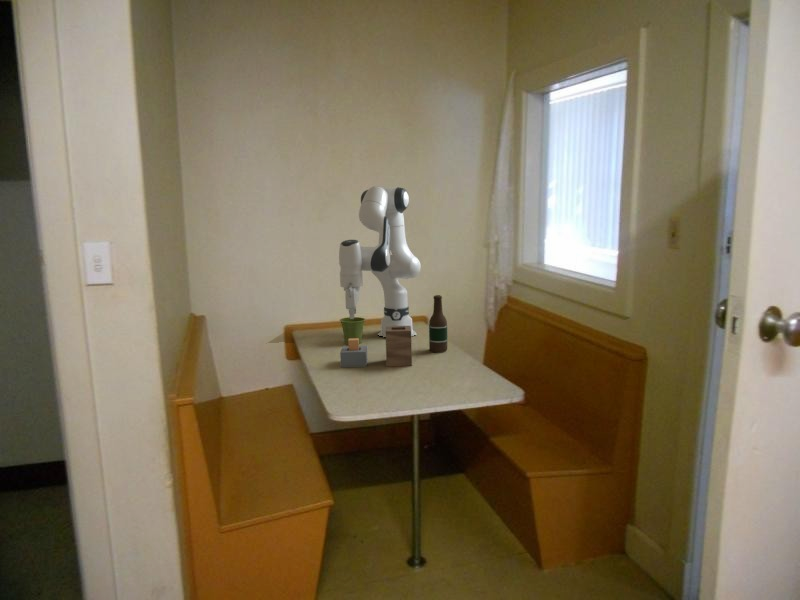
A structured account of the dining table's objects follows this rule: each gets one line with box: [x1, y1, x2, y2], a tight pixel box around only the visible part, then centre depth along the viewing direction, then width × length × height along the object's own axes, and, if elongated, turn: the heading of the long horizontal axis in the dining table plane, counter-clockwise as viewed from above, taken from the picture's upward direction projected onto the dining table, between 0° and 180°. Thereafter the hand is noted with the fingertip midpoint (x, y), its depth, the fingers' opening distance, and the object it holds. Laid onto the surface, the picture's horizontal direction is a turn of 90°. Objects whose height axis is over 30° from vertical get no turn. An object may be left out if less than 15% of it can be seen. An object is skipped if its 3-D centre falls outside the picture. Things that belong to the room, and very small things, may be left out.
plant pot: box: [339, 316, 366, 345], centre depth 274 cm, size 12×12×11 cm
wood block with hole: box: [385, 326, 413, 367], centre depth 239 cm, size 10×10×14 cm
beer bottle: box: [428, 294, 448, 353], centre depth 256 cm, size 8×8×24 cm
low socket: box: [339, 345, 369, 368], centre depth 240 cm, size 10×10×6 cm
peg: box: [347, 338, 360, 351], centre depth 240 cm, size 3×4×8 cm
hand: (353, 316), depth 237 cm, fingers open, 8 cm apart
